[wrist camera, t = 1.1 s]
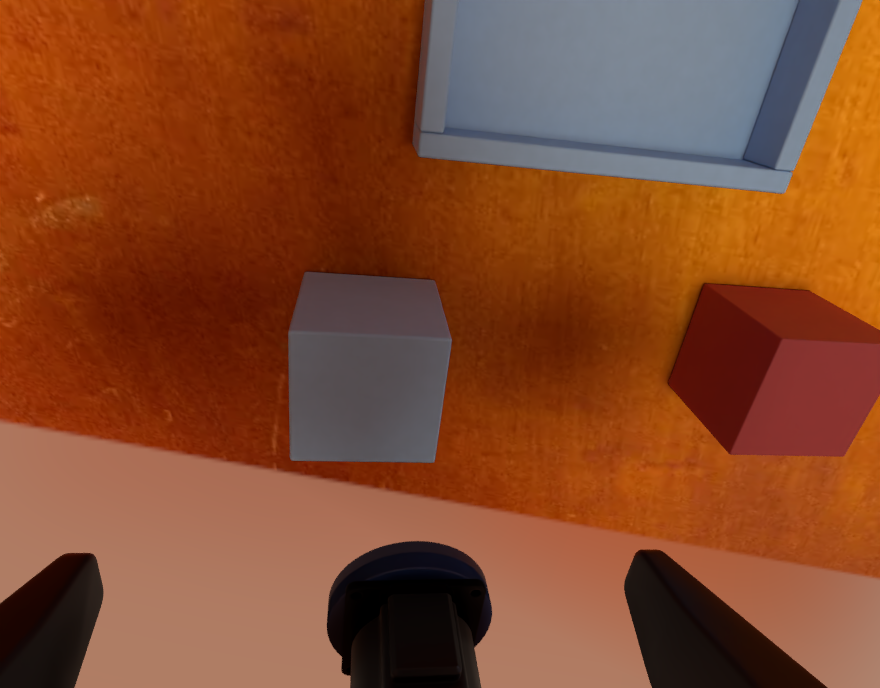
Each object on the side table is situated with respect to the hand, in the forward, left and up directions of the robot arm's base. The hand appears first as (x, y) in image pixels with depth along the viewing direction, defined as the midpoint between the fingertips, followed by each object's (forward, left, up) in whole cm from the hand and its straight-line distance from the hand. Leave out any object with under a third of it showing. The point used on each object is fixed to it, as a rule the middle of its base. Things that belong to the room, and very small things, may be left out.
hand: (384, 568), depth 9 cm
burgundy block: (0, -13, -10) cm, 16 cm away
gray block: (0, 0, -10) cm, 10 cm away
